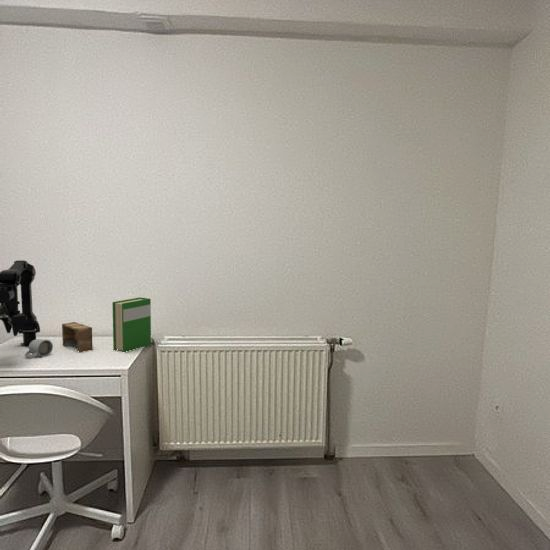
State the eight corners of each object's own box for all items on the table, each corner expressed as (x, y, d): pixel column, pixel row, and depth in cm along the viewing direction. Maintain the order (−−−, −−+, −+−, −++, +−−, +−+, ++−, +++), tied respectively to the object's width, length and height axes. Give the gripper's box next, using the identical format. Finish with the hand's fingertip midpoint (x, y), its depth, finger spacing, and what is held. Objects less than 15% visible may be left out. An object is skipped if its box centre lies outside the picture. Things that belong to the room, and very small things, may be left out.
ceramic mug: (42, 351, 203) (41, 336, 202) (53, 354, 199) (52, 338, 198) (20, 357, 194) (19, 341, 193) (32, 360, 190) (31, 343, 189)
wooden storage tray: (62, 345, 214) (61, 323, 213) (74, 343, 219) (74, 321, 218) (80, 352, 203) (79, 329, 202) (92, 349, 208) (91, 327, 206)
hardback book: (124, 352, 204) (123, 303, 202) (113, 350, 208) (112, 302, 205) (151, 344, 219) (150, 298, 217) (140, 342, 223) (140, 297, 220)
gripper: (-19, 299, 185) (-17, 334, 187) (-3, 304, 173) (-1, 341, 175) (9, 296, 194) (11, 329, 195) (26, 301, 182) (28, 336, 184)
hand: (11, 334), depth 187 cm, fingers open, 7 cm apart
